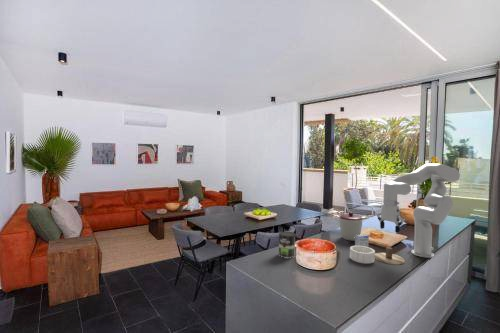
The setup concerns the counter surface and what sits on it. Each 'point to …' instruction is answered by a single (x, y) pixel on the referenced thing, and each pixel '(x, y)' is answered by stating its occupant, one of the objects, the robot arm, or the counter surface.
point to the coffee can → (286, 244)
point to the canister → (350, 226)
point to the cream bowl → (362, 254)
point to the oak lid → (389, 257)
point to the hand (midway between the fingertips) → (389, 230)
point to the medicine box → (361, 240)
